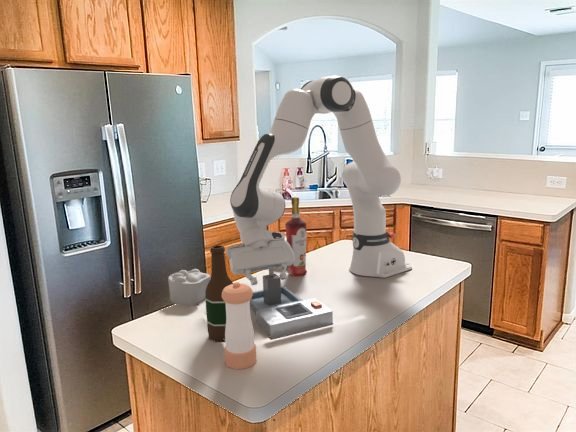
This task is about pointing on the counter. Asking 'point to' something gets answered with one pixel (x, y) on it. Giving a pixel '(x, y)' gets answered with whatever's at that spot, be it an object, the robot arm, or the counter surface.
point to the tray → (286, 298)
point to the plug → (272, 288)
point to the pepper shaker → (239, 327)
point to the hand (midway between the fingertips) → (269, 281)
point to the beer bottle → (217, 295)
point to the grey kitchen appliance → (294, 318)
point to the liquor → (297, 240)
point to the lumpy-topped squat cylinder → (188, 287)
